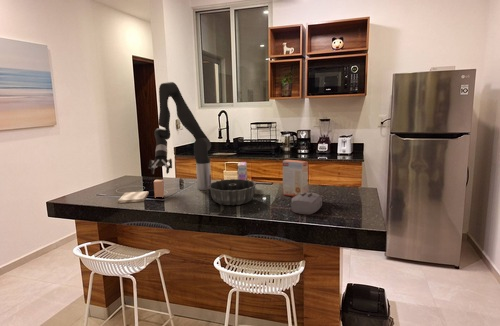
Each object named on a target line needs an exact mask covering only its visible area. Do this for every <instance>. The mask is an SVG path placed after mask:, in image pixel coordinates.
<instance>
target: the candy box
mask: <svg viewBox="0 0 500 326" xmlns="http://www.w3.org/2000/svg"><path fill="white" fill-rule="evenodd" d="M247 163H248V162H247V161H239V162H237V165H236V167H237V172H236V173H237V179H244V180H248V166H247Z"/></svg>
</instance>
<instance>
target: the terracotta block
mask: <svg viewBox="0 0 500 326" xmlns="http://www.w3.org/2000/svg"><path fill="white" fill-rule="evenodd" d="M164 185H165V183H164V179H155V180H154V181H153V191H154V199H157V198H156V197H162V198H164V197H165V186H164Z"/></svg>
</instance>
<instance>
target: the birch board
mask: <svg viewBox="0 0 500 326" xmlns="http://www.w3.org/2000/svg"><path fill="white" fill-rule="evenodd" d="M148 196H149V191H147V190H146V191H130V192H124V193H123V195H122V196H121V197H120V198H118V200H117V204H122V203H125V204H126V203H138V202H139V203H141V202H144V201H145V200H146V199H147V197H148Z"/></svg>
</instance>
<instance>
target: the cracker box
mask: <svg viewBox="0 0 500 326" xmlns="http://www.w3.org/2000/svg"><path fill="white" fill-rule="evenodd" d="M308 165H309V163H308V161H307V160H306V161H304V160H294V159H284V160H282V195H283V196H287V197H292V198H293V197H295V196H296V195H298V194H300V193H309V192H308V188H309V187H308V185H309V184H308V181H309V180H308V175H309V172H308V171H309V170H308V169H309V167H308Z"/></svg>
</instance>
